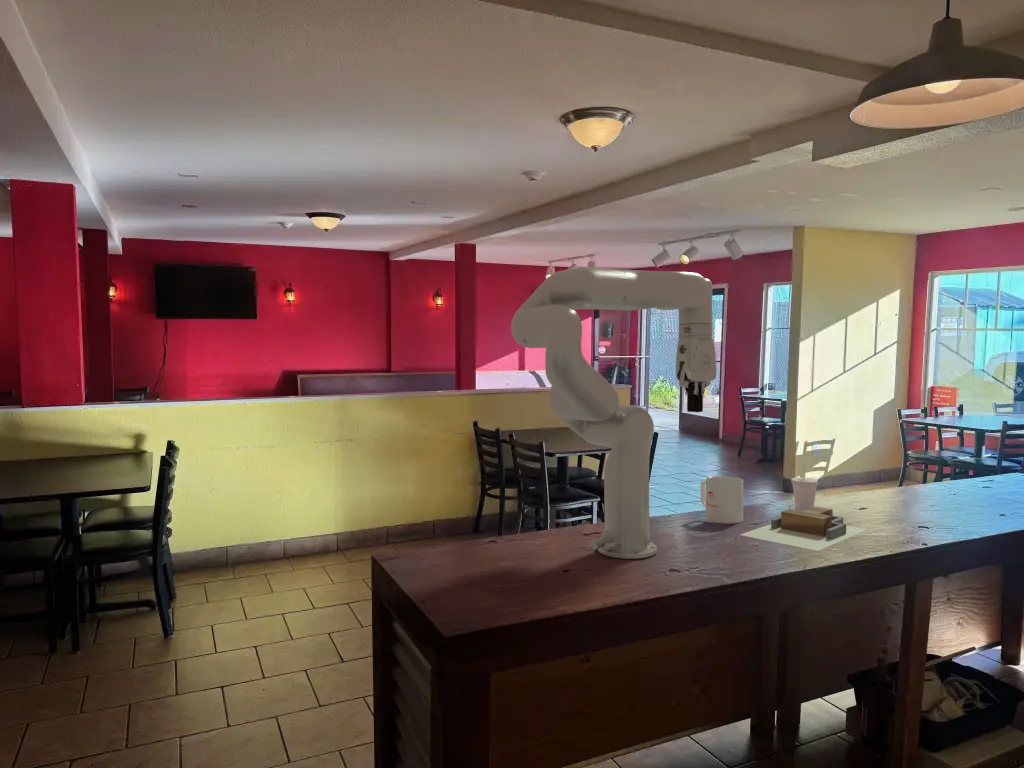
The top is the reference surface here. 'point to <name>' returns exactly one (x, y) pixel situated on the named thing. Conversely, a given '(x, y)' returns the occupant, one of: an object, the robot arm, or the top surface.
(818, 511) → the t block
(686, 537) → the top surface
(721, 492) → the mug
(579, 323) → the robot arm
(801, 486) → the smoothie
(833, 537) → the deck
